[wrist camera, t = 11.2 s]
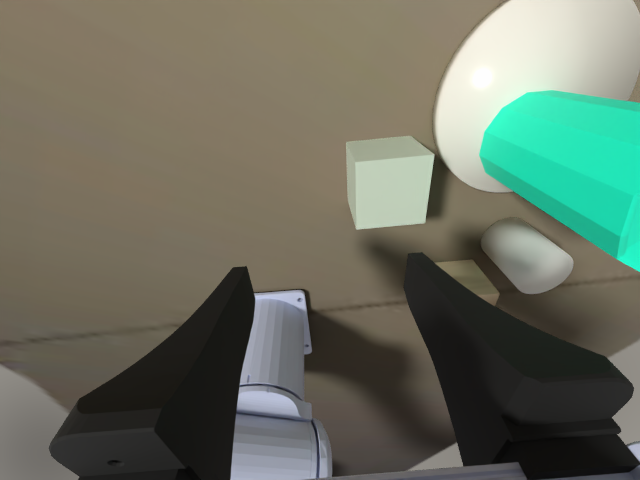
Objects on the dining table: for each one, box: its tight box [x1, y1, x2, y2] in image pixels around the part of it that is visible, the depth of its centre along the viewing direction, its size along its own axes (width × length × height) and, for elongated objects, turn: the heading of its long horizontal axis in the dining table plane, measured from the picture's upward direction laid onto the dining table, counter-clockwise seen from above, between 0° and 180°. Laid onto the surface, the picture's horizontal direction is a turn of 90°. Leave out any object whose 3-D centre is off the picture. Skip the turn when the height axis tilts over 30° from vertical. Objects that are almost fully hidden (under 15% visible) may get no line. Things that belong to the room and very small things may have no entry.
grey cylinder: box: [481, 217, 573, 294], centre depth 23 cm, size 4×4×5 cm
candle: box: [479, 90, 640, 272], centre depth 14 cm, size 6×6×12 cm
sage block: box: [346, 136, 434, 230], centre depth 19 cm, size 4×4×4 cm
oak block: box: [435, 259, 500, 306], centre depth 26 cm, size 4×4×4 cm
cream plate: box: [432, 0, 640, 192], centre depth 18 cm, size 12×12×1 cm
